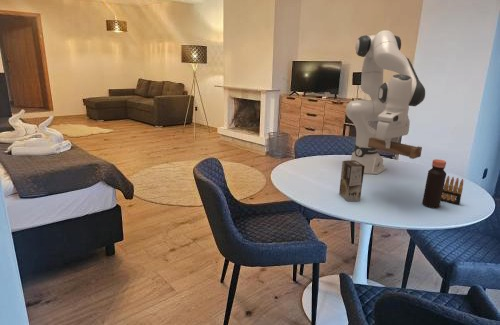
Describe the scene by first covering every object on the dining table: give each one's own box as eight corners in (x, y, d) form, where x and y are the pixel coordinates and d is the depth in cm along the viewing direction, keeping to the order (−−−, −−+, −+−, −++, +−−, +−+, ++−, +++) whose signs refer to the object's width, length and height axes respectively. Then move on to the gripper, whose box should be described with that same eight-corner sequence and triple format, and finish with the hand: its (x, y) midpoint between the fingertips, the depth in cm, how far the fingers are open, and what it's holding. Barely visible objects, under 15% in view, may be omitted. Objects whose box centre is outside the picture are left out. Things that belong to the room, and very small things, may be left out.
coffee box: (360, 201, 148) (365, 166, 144) (347, 201, 147) (351, 166, 142) (351, 193, 157) (355, 159, 152) (338, 193, 156) (342, 160, 151)
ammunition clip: (431, 199, 153) (437, 173, 149) (432, 197, 154) (437, 172, 151) (459, 205, 147) (465, 179, 143) (459, 204, 148) (465, 178, 144)
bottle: (424, 200, 150) (432, 157, 145) (441, 205, 146) (450, 161, 140) (420, 205, 145) (428, 161, 140) (437, 210, 141) (447, 164, 135)
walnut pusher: (373, 145, 154) (374, 136, 153) (420, 156, 138) (422, 147, 137) (366, 147, 150) (367, 138, 149) (413, 158, 134) (414, 149, 133)
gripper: (401, 112, 149) (396, 142, 153) (375, 116, 136) (371, 149, 141) (415, 114, 144) (410, 145, 148) (390, 118, 132) (384, 152, 136)
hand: (390, 147), depth 144 cm, fingers closed on walnut pusher, 3 cm apart
